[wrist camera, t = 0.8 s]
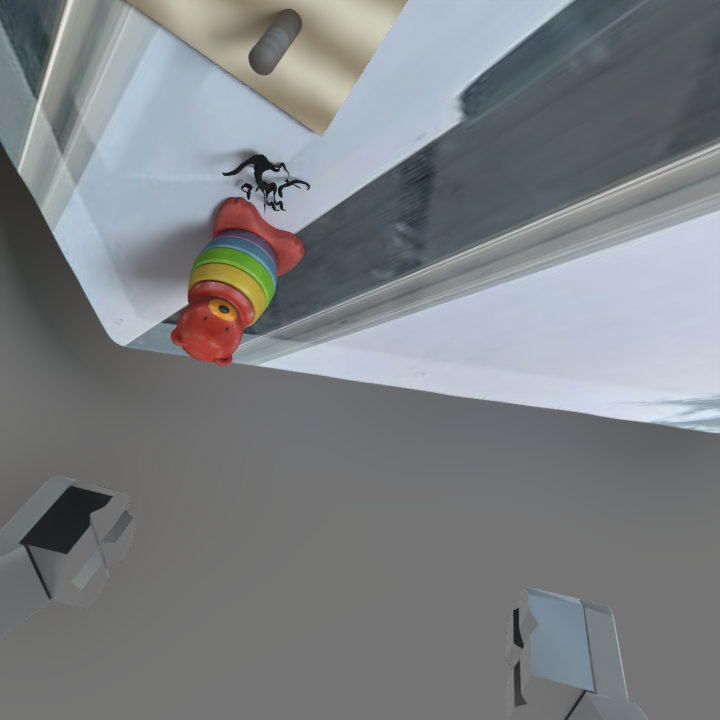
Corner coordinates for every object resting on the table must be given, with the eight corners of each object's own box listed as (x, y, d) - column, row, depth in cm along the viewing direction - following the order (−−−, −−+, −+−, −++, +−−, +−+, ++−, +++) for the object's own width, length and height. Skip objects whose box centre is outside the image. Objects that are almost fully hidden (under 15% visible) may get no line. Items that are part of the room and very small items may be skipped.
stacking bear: (312, 245, 64) (268, 358, 53) (270, 289, 71) (223, 396, 60) (233, 188, 60) (168, 297, 49) (197, 240, 67) (132, 346, 56)
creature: (318, 197, 60) (296, 138, 53) (309, 234, 58) (285, 177, 51) (254, 200, 62) (224, 144, 55) (243, 237, 60) (210, 182, 53)
